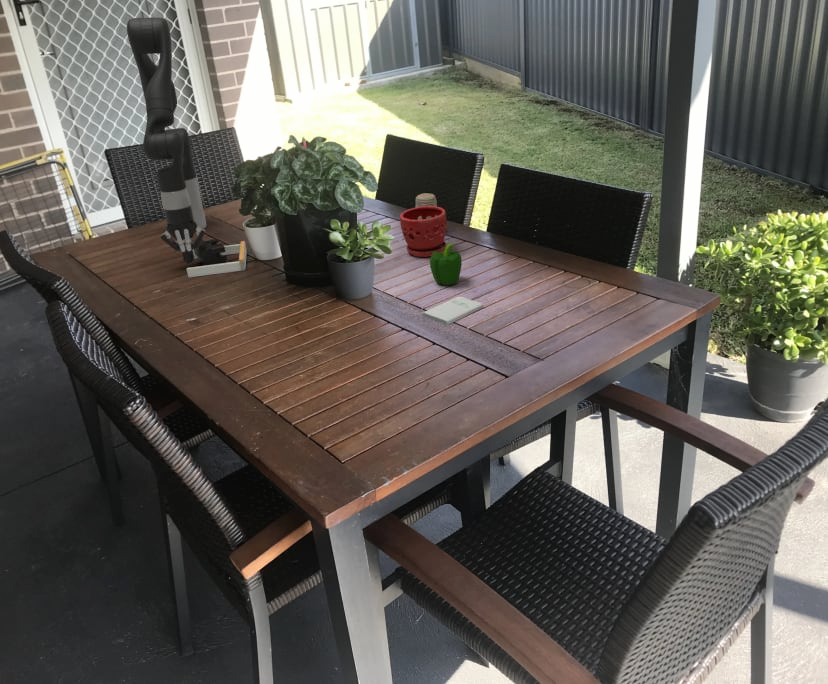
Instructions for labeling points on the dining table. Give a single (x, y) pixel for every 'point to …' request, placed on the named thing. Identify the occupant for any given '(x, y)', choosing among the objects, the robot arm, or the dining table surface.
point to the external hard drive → (453, 310)
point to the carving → (425, 202)
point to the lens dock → (224, 266)
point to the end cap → (210, 252)
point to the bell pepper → (446, 266)
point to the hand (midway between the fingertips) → (189, 262)
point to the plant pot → (424, 230)
